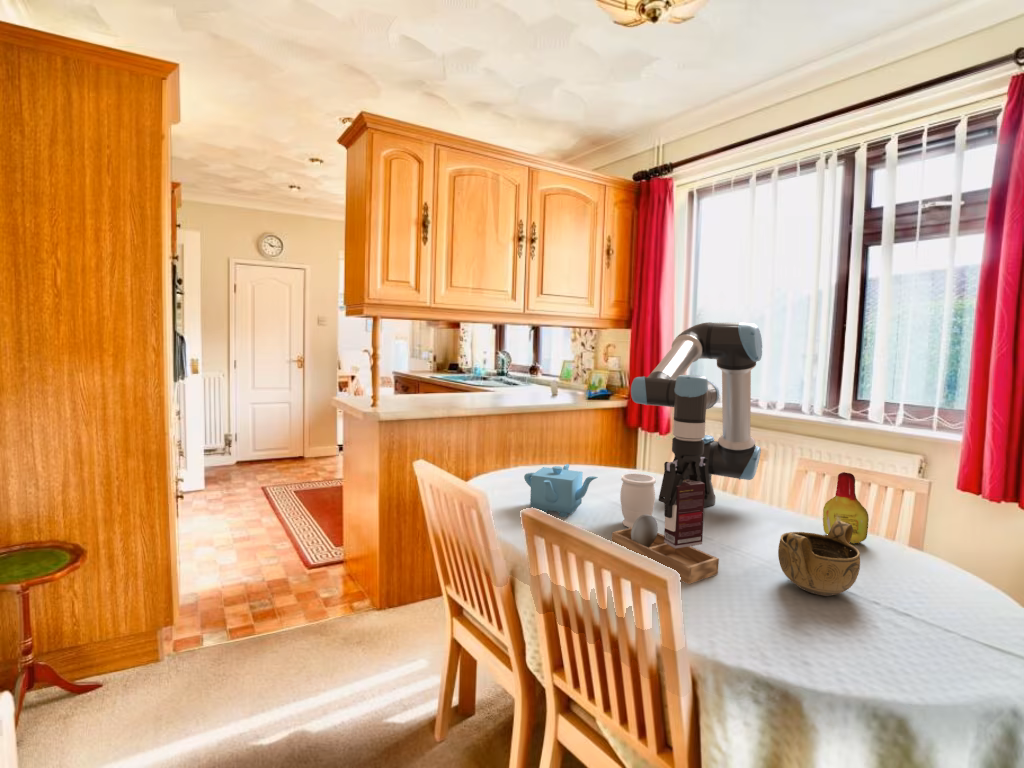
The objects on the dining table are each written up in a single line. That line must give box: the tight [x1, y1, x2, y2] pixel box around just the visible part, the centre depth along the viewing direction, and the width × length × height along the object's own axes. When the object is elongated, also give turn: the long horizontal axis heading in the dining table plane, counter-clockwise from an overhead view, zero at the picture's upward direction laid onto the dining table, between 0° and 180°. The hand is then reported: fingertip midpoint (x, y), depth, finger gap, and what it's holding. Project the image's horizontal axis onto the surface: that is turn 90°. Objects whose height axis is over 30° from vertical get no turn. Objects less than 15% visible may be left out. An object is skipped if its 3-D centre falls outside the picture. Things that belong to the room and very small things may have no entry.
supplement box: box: [663, 479, 705, 549], centre depth 139 cm, size 9×5×16 cm, turn 112°
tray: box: [611, 514, 720, 585], centre depth 145 cm, size 11×26×10 cm, turn 33°
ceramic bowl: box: [777, 520, 861, 597], centre depth 130 cm, size 22×17×15 cm
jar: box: [619, 473, 656, 528], centre depth 170 cm, size 11×10×15 cm
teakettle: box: [524, 463, 598, 518], centre depth 182 cm, size 19×19×15 cm
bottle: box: [822, 471, 870, 544], centre depth 162 cm, size 12×6×20 cm, turn 32°
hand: (683, 526), depth 139 cm, fingers closed on supplement box, 9 cm apart
